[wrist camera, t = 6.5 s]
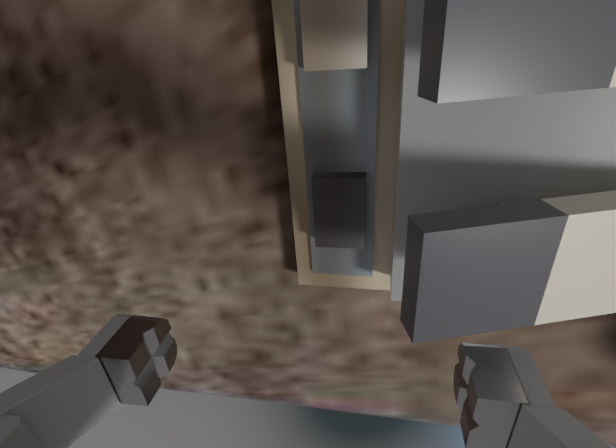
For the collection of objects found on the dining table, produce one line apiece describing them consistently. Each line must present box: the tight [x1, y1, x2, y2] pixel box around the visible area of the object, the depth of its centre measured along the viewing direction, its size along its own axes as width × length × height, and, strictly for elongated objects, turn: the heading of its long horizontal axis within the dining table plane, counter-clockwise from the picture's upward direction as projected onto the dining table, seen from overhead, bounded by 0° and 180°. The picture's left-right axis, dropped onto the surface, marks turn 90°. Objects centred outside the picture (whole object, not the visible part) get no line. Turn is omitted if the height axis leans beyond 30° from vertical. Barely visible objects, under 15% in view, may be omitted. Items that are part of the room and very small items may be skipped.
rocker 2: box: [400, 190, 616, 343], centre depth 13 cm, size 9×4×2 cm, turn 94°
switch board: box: [271, 0, 405, 290], centre depth 13 cm, size 15×26×2 cm, turn 4°
